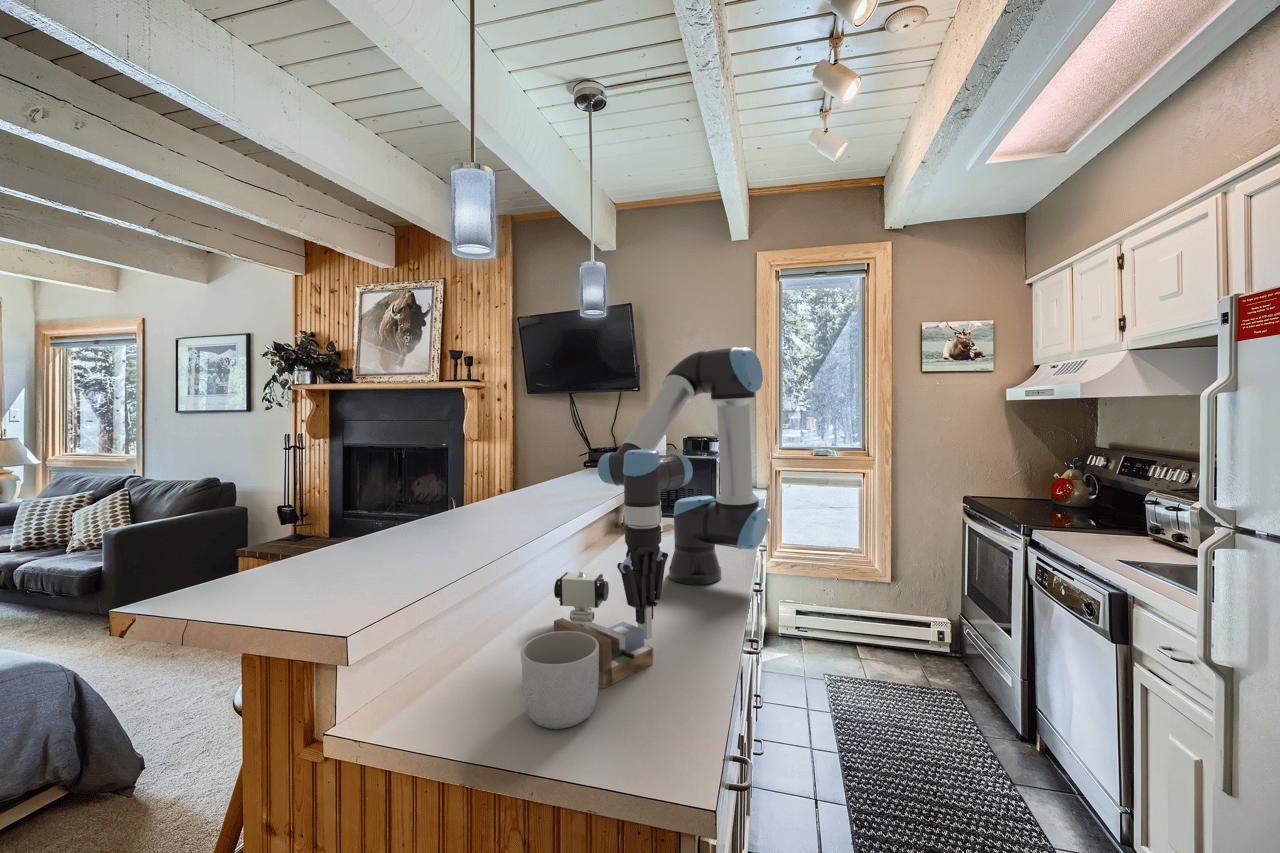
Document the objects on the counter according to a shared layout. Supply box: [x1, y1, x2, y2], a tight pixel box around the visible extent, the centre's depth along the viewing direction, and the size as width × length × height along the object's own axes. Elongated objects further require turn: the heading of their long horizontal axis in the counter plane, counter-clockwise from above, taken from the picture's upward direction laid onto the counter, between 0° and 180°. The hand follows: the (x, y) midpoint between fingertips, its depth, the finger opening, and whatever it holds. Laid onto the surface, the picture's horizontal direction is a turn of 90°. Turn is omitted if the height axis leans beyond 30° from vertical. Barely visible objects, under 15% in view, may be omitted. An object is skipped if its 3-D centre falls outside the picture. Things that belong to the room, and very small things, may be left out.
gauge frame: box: [553, 617, 654, 689], centre depth 101 cm, size 12×15×8 cm
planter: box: [520, 631, 599, 730], centre depth 84 cm, size 12×12×11 cm
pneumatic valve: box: [553, 570, 610, 627], centre depth 120 cm, size 6×12×12 cm, turn 78°
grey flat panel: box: [583, 621, 635, 661], centre depth 100 cm, size 2×13×6 cm, turn 45°
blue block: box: [605, 621, 645, 653], centre depth 104 cm, size 7×6×5 cm
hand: (645, 636), depth 109 cm, fingers closed
